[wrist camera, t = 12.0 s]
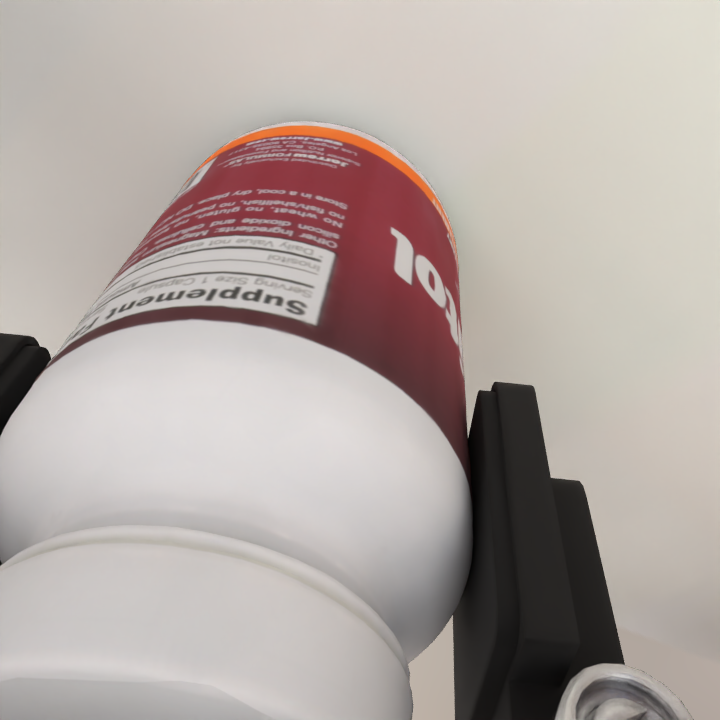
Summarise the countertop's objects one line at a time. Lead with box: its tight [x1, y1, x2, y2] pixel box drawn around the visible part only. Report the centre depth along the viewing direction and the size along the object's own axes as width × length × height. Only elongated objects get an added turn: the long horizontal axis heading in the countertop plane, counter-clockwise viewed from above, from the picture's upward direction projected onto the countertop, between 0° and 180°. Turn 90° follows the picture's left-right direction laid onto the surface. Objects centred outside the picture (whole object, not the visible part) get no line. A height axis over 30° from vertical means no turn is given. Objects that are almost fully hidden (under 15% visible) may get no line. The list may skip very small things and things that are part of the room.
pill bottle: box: [0, 121, 473, 720], centre depth 11 cm, size 6×6×11 cm
